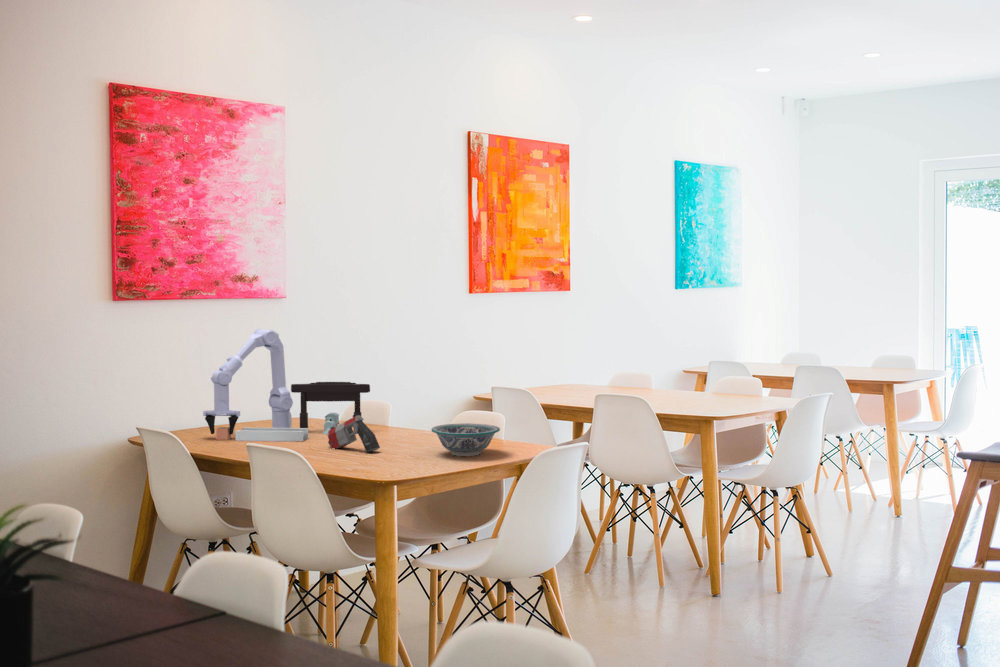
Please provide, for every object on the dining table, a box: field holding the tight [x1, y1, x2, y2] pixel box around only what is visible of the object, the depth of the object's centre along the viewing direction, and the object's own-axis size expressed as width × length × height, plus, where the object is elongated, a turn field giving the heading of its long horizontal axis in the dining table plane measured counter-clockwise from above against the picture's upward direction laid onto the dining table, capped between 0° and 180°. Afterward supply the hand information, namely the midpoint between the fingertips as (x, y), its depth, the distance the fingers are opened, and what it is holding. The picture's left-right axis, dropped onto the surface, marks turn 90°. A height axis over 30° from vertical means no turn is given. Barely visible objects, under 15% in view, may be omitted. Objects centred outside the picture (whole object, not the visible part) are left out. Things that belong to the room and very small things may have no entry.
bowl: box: [431, 422, 501, 457], centre depth 353 cm, size 25×25×10 cm
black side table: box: [290, 381, 371, 436], centre depth 404 cm, size 16×21×33 cm
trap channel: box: [235, 427, 309, 442], centre depth 385 cm, size 8×27×4 cm, turn 86°
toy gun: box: [327, 414, 381, 453], centre depth 362 cm, size 5×22×15 cm, turn 56°
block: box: [215, 426, 232, 441], centre depth 386 cm, size 4×4×4 cm
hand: (222, 433), depth 387 cm, fingers open, 7 cm apart
